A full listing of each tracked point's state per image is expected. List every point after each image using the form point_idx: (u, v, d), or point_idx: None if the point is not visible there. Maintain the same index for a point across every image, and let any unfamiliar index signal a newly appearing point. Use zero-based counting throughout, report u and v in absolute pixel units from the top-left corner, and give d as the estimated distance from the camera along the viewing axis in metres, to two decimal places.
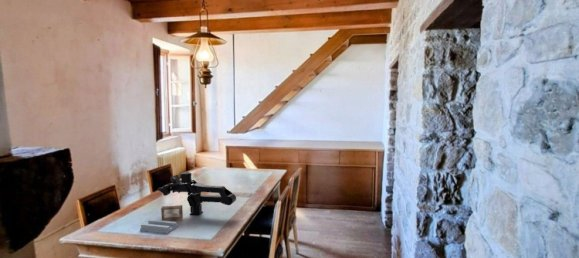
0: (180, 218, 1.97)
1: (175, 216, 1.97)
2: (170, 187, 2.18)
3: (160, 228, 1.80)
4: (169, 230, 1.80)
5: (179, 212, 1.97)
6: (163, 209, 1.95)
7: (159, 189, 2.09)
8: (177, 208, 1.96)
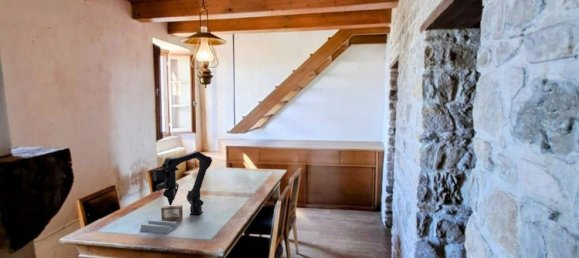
0: (180, 218, 1.97)
1: (175, 216, 1.97)
2: (174, 194, 2.02)
3: (160, 228, 1.80)
4: (169, 230, 1.80)
5: (179, 212, 1.97)
6: (163, 209, 1.95)
7: (170, 202, 1.92)
8: (177, 208, 1.96)
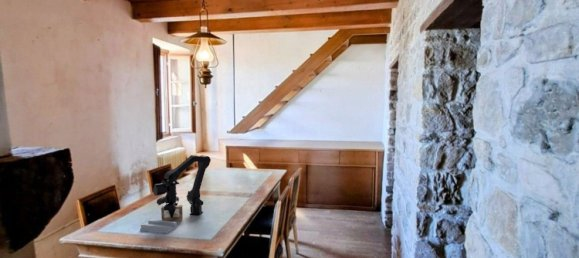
0: (180, 218, 1.97)
1: (175, 216, 1.97)
2: None
3: (160, 228, 1.80)
4: (169, 230, 1.80)
5: (179, 212, 1.97)
6: (163, 209, 1.95)
7: (171, 214, 1.95)
8: (177, 208, 1.96)
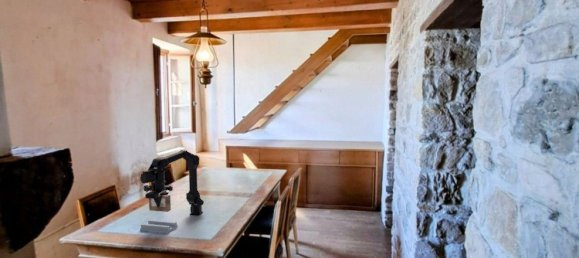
0: (166, 209, 1.84)
1: (161, 205, 1.84)
2: None
3: (160, 228, 1.80)
4: (169, 230, 1.80)
5: (165, 202, 1.84)
6: None
7: (157, 204, 1.83)
8: (163, 197, 1.83)
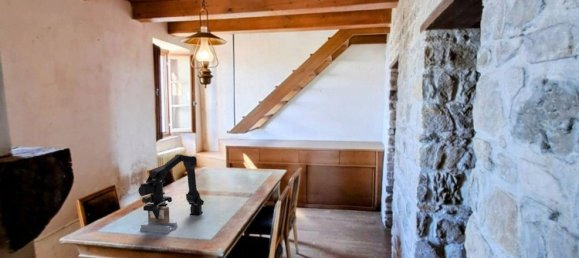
0: (164, 220, 1.82)
1: (160, 217, 1.83)
2: None
3: (160, 228, 1.80)
4: (169, 230, 1.80)
5: (163, 213, 1.82)
6: None
7: (156, 215, 1.82)
8: (162, 209, 1.82)
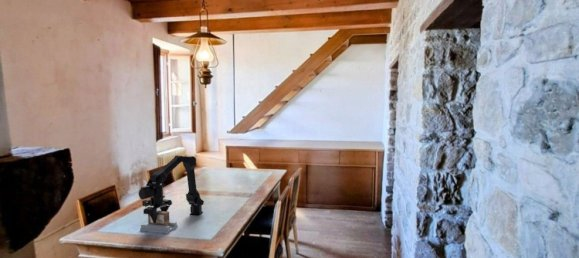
0: (165, 225, 1.83)
1: (160, 222, 1.83)
2: None
3: (160, 228, 1.80)
4: (169, 230, 1.80)
5: (163, 218, 1.82)
6: None
7: (153, 220, 1.80)
8: (162, 214, 1.82)
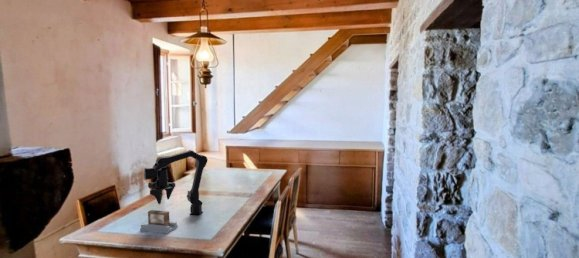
0: (165, 225, 1.83)
1: (160, 222, 1.83)
2: (169, 194, 2.02)
3: (160, 228, 1.80)
4: (169, 230, 1.80)
5: (163, 218, 1.82)
6: (149, 213, 1.84)
7: (158, 201, 1.93)
8: (162, 214, 1.82)
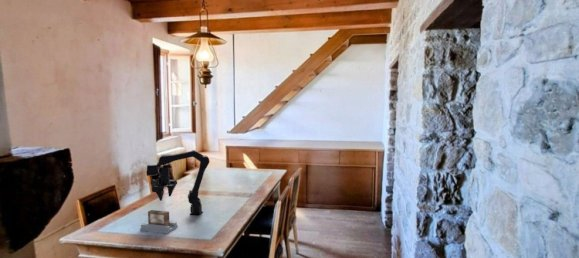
0: (165, 225, 1.83)
1: (160, 222, 1.83)
2: (171, 191, 2.08)
3: (160, 228, 1.80)
4: (169, 230, 1.80)
5: (163, 218, 1.82)
6: (149, 213, 1.84)
7: (160, 197, 1.98)
8: (162, 214, 1.82)
